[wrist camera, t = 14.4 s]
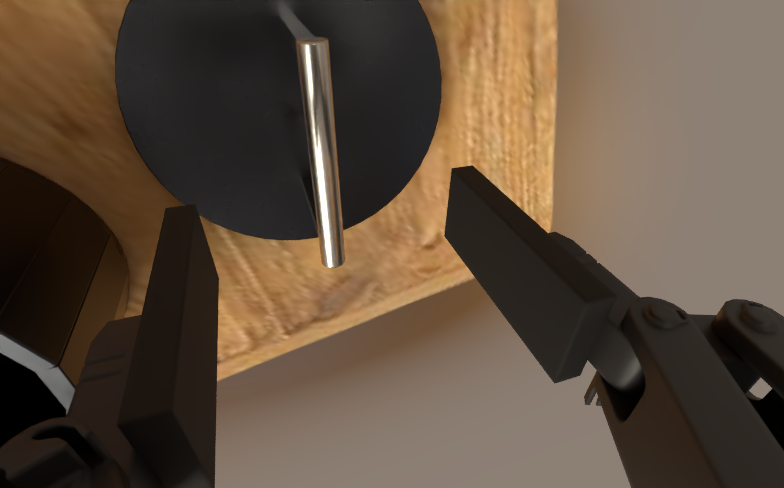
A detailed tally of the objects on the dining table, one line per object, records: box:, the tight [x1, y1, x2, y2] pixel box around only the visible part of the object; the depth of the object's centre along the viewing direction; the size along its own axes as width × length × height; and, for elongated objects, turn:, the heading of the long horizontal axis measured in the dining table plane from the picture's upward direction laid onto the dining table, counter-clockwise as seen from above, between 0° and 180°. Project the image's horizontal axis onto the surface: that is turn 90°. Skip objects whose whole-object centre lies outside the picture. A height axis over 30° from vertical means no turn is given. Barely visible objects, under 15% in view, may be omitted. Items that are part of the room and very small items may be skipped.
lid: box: [115, 0, 441, 268], centre depth 18 cm, size 16×16×8 cm
